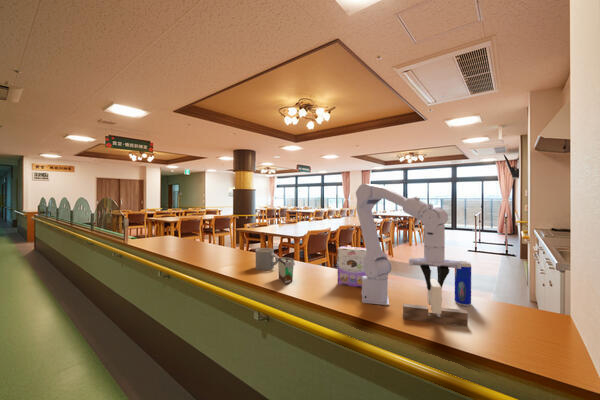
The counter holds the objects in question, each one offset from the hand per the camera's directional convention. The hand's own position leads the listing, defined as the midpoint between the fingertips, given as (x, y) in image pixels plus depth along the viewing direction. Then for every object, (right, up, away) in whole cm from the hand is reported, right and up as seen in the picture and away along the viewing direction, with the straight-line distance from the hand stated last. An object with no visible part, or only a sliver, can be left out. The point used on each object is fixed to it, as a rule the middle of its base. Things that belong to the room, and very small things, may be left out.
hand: (434, 289), depth 83 cm
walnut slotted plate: (0, -10, 0) cm, 10 cm away
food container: (-48, -10, +40) cm, 63 cm away
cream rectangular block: (0, -6, 0) cm, 6 cm away
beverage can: (+17, -10, +14) cm, 24 cm away
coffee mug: (-60, -10, +61) cm, 87 cm away
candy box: (-18, -10, +35) cm, 40 cm away
